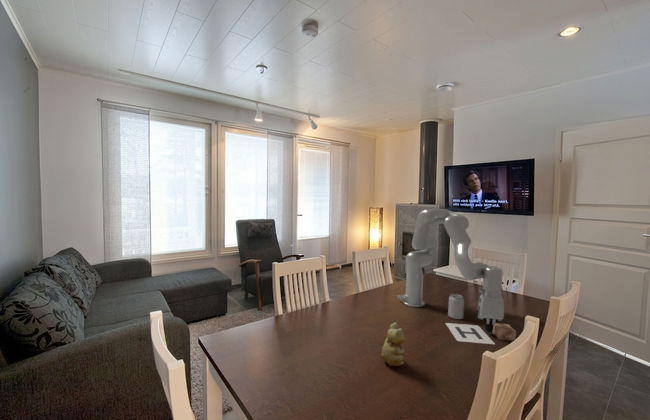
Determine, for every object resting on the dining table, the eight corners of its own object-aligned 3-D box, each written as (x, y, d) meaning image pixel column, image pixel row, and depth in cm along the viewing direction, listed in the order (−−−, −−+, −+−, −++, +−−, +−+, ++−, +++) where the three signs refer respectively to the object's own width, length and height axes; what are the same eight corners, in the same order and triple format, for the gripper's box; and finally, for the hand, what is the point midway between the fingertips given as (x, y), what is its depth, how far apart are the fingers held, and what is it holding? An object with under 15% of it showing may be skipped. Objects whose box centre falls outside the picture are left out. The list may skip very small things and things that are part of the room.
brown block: (498, 340, 128) (499, 329, 127) (491, 333, 135) (492, 322, 134) (515, 341, 127) (516, 331, 127) (507, 334, 134) (508, 324, 133)
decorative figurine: (408, 368, 105) (410, 329, 104) (388, 372, 102) (390, 332, 101) (394, 354, 114) (396, 318, 113) (376, 357, 111) (377, 320, 111)
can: (445, 314, 154) (446, 293, 154) (458, 314, 155) (459, 293, 154) (452, 320, 147) (453, 298, 146) (466, 320, 147) (467, 298, 147)
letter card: (457, 341, 125) (457, 340, 125) (445, 323, 143) (445, 322, 143) (495, 345, 123) (495, 344, 123) (478, 326, 141) (478, 325, 141)
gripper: (478, 294, 128) (475, 333, 129) (513, 297, 126) (510, 336, 127) (471, 289, 135) (469, 326, 137) (504, 291, 134) (501, 329, 135)
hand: (488, 331), depth 132 cm, fingers closed
